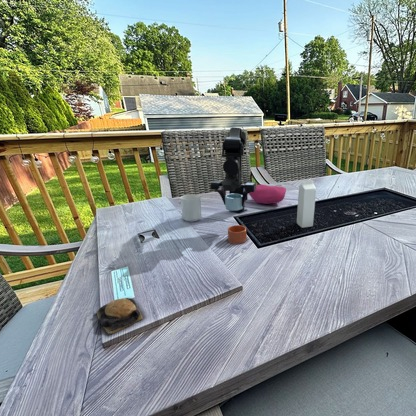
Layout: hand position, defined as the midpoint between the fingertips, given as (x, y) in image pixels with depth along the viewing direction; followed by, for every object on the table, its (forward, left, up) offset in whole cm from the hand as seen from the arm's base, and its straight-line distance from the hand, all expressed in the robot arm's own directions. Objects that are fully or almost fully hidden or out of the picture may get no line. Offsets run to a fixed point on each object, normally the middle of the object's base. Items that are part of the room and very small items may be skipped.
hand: (233, 205), depth 114 cm
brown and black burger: (+57, +10, -12) cm, 59 cm away
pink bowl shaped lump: (-42, -9, -12) cm, 44 cm away
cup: (+8, +8, -11) cm, 16 cm away
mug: (+1, -26, -12) cm, 28 cm away
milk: (-23, +24, -12) cm, 35 cm away
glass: (0, 0, -1) cm, 1 cm away
